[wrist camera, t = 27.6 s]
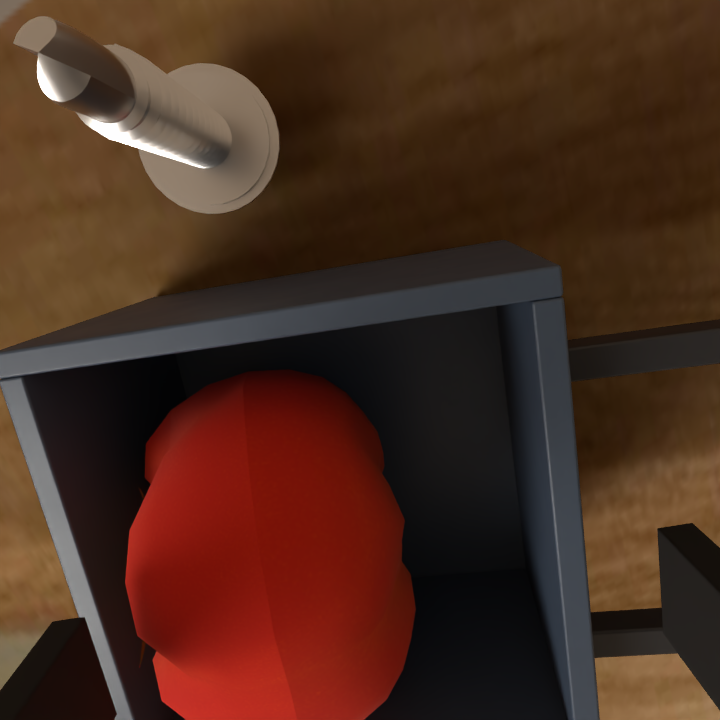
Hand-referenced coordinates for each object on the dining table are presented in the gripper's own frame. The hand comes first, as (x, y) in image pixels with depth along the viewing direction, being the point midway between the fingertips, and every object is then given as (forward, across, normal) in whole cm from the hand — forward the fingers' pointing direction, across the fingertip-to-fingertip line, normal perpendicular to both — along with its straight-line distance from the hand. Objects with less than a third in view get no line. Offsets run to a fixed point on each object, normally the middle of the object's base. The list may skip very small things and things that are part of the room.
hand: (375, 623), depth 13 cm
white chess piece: (+12, -4, +12) cm, 17 cm away
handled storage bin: (+10, +3, 0) cm, 11 cm away
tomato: (+5, +1, 0) cm, 6 cm away
